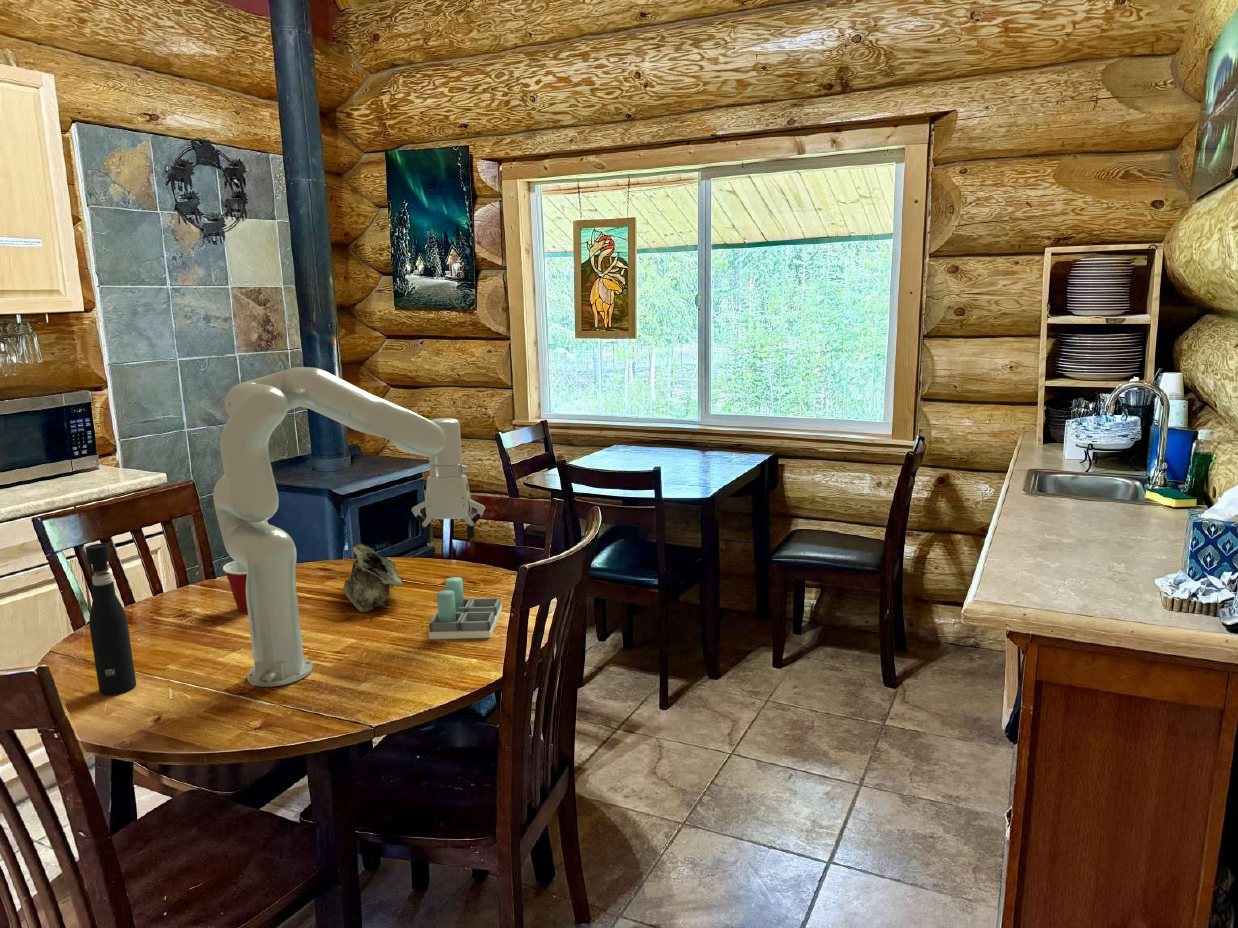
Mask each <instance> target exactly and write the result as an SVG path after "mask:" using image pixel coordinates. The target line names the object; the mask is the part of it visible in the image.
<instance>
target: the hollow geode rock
mask: <svg viewBox="0 0 1238 928" xmlns="http://www.w3.org/2000/svg"><path fill="white" fill-rule="evenodd" d="M351 549H352V552H353V554H354V555H355V560H354V561H353V562H352V563H351V565H352V569H351V573H350V575H349V577H348V578H347V579H346V580H345V581H344V584H343V588H342V590H343V592H344V594H345V596H346V598H347V599H348V600H349V601H350V603H351V604H352V605H354V607H355V608H356V609H357V610H358V611H359V612H361V613H365V612H369V611H373V610H374V609H375V608H377V607H384V606H386V602H387V599H388V598H389V596H390V587H391V588H394V587H397V588H399V587H402V586H403V579H402V578H401V576H400V575H399V572H398V570H397V568H396V563H395V562H394V561H392V560H391V559H388V558H387V557H383V556H381V555H380V554H379V553H377V552H376V551H375V549H374V547H373V548H372V547H370V546H369V545H366V544H364V543H360V542H359V543H356V544H355V545H352V546H351Z"/></svg>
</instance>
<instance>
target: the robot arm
mask: <svg viewBox="0 0 1238 928" xmlns="http://www.w3.org/2000/svg"><path fill="white" fill-rule="evenodd" d="M297 408H306V409H309V410H311V411H313V412H315V413H318V414H320V415H322V416H324V417H327V418H329V419H331V420H333V421H335V422H337V423H339V424H342V425H344V426H346V427H348V428H350V429H352V430H355V431H358V432H360V433H364V434H367V435H371V436H376V437H380V438H384V439H386V440H389V441H391V442H392V445H394V447H395V448H396V449H398V450H399V451H401V452H403V453H407V454H411V455H418V456H423V457H427V458H428V457H429V458H428V461H429V476H427V480H426V487H425V488H426V489H425V500H424V501H422V502H420V503H418V504H416V505H414V506H413V507H411V512H412V515H414V517H415V520H417V521H418V522H419V523H420V524H421V525H422V527H423V529H424V540H426V543H427V544H430V543H432V541H434V535H433V534H434V533H433V531H434V530H433V524H432V523H431V522H432V520H450V519H451V520H454V519H455V520H458V519H459V520H461V519H463V520H464V521H465V522H466V524H467V525H466V535H467V538H466V540H467V543H472V542H473V539H475V538H476V529H475V527H476V526H475V524H476V523H477V522H478V521H479V520H480V519H481V517H482V515H483V513H484V511H485V509H486V506H485V505H483V504H481V503H479V502H477V501H475V500H473V499H471V493H470V485H469V482H468V478H467V474H464V473H465V472H469V471H470V469H469V465H464V463H463V460H462V459H463V456H462V455H463V454H462V438H461V436H462V435H461V423H460V421H459V420H458V419H456V418H452V417H441V418H434V419H431V420H430V419H427V418H426V417H423V416H422V415H419V414H418V413H416V412H413V411H412V410H409V409H407V408H404V407H402V406H399V405H397V404H396V403H392V402H390V401H388V400H386V399H384V398H382V397H379V396H376V395H374V394H372V393H370V392H368V391H366V390H364V389H362V388H360V387H358V386H356V385H354V384H352V383H350V382H348V381H346V380H344V379H342V378H341V377H339V376H336V375H334V373H333V374H332V373H330V372H328V371H326V370H324V369H322V368H317V367H311V366H310V367H308V366H307V367H306V366H297V367H296V366H295V367H290V368H287V369H284V370H281V371H278V372H274V373H269V374H268V375H264V376H262V377H257V378H254V379H250V380H247V381H243V382H241V383H237V384H236V385H234V386H233V387H231V388H230V390H229V391H228V392H227V393H226V395H225V397H224V409H225V411H226V414H227V415H228V417H229V418H228V420H227V421H226V423H225V426H224V428H223V430H222V433H221V437H220V444H219V445H220V456H221V459H222V460H221V461H222V466H223V472H224V474H223V475H222V476H221V477H219V479H218V480H217V482H216V483H215V486H214V489H213V506H214V509H215V510H214V511H215V514H216V518H217V521H218V526H219V529H220V533H221V538H222V542H223V545H224V548H225V550H226V552H227V554H228V555H229V556H230V558H232V559H233V561H237V562H238V563H240V564H242V565H244V566H245V567H246V569H247V579H246V601H247V608H248V613H247V614H248V623H249V624H248V625H249V632H250V640H251V642H250V643H251V649H252V650H251V651H252V659H253V667H251V669H250V670H249V671H247V674H246V676H247V677H246V678H247V682H248V683H249V684H250V686H256V687H261V688H262V687H263V688H265V687H266V688H269V687H270V688H273V687H279V686H285V685H289V684H292V683H295V682H298V681H300V680H302V679H304V678H306V677H307V676H309V675H310V674H311V673H312V671H313V669H314V668H313V662H312V661H311V660H310V659H308V658H306V657H304V649H303V637H302V630H301V629H302V628H301V621H300V620H301V619H300V611H299V610H300V609H299V602H298V600H299V599H298V591H297V579H296V577H297V576H296V571H297V570H296V569H297V556H298V555H297V547H296V544H295V542H294V539H293V538H292V537H291V536H290V535H289V533H287V532H286V531H285V530H283V529H282V528H279V527H276V526H275V525H273V524H269V522H268V520H270V519H271V518H273V517H274V515H275V514H276V513H277V511H278V510H279V504H280V503H279V502H280V501H279V492H278V488H277V485H276V481H275V477H274V473H273V467H272V464H271V459H270V452H269V442H270V439H271V436H272V434H273V432H274V431H275V429H276V428H277V427H278V426H279V425H280V424H281V423H282V421H283V420H284V419H285V417H286V415H287V414H288V411H290V410H294V409H297ZM424 508H425V513H426V515H425V516H426V517H425V516H424V515H423V514H422V513H421V510H422V509H424ZM472 508H474V509H475V510H476V511H477V512H476V514H475V515H474V516H473V515H472V514H471V512H472Z"/></svg>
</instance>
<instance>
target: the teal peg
mask: <svg viewBox="0 0 1238 928" xmlns="http://www.w3.org/2000/svg"><path fill="white" fill-rule="evenodd" d="M444 581H445V590H451V591H454V595H455V608H458V607H464V599H465V598H464V586H463V585H464V584H463V578H462V577H458V576H457V577H456V576H455V577H449V578H446V579H444Z"/></svg>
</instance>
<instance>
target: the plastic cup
mask: <svg viewBox="0 0 1238 928" xmlns="http://www.w3.org/2000/svg"><path fill="white" fill-rule="evenodd" d="M222 570H223V572H224V573H225V575H226V577H227V580H228V584H229V587H230V589H231V592H232V596H233V599H234V600H235V601H234V602H235V605H236V608H237V610H238V612H239V613H244V614H245V613H247V614H248V608H247V601H246V579H247V569H246V567H245V566H244V565H242V564H240V563H238V562H237V561H235V560H233V561H230V562H227V563H226V564H225V565H223V567H222Z"/></svg>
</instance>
